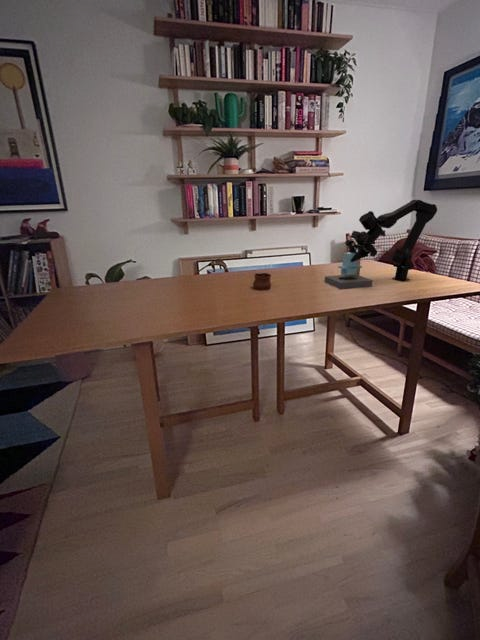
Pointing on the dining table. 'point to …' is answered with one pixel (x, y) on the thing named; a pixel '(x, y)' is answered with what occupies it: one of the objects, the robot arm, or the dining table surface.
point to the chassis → (348, 281)
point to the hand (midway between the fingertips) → (348, 260)
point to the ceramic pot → (262, 281)
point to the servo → (349, 264)
